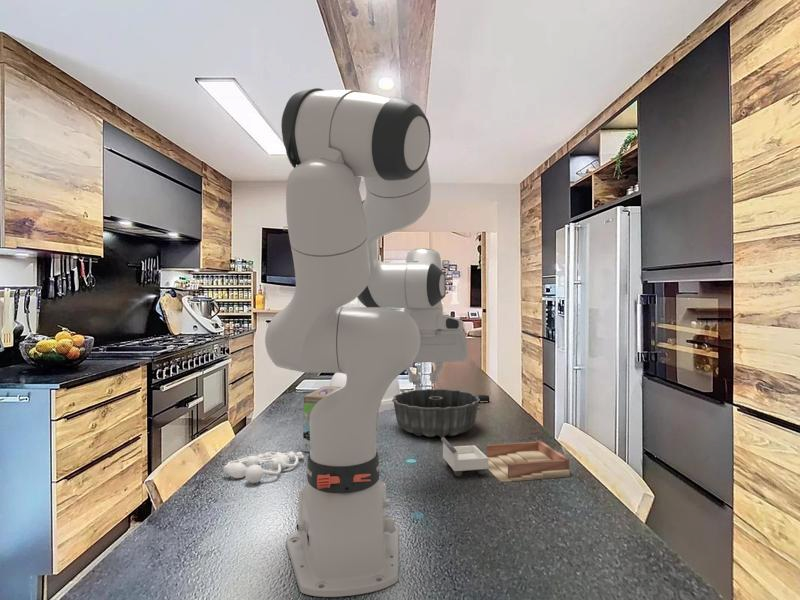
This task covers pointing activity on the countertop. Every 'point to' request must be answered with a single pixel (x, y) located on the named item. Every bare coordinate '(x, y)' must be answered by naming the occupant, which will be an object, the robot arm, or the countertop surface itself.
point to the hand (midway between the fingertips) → (423, 381)
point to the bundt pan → (436, 411)
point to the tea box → (308, 406)
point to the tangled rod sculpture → (254, 470)
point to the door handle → (482, 399)
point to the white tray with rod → (464, 458)
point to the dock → (526, 461)
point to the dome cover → (386, 401)
